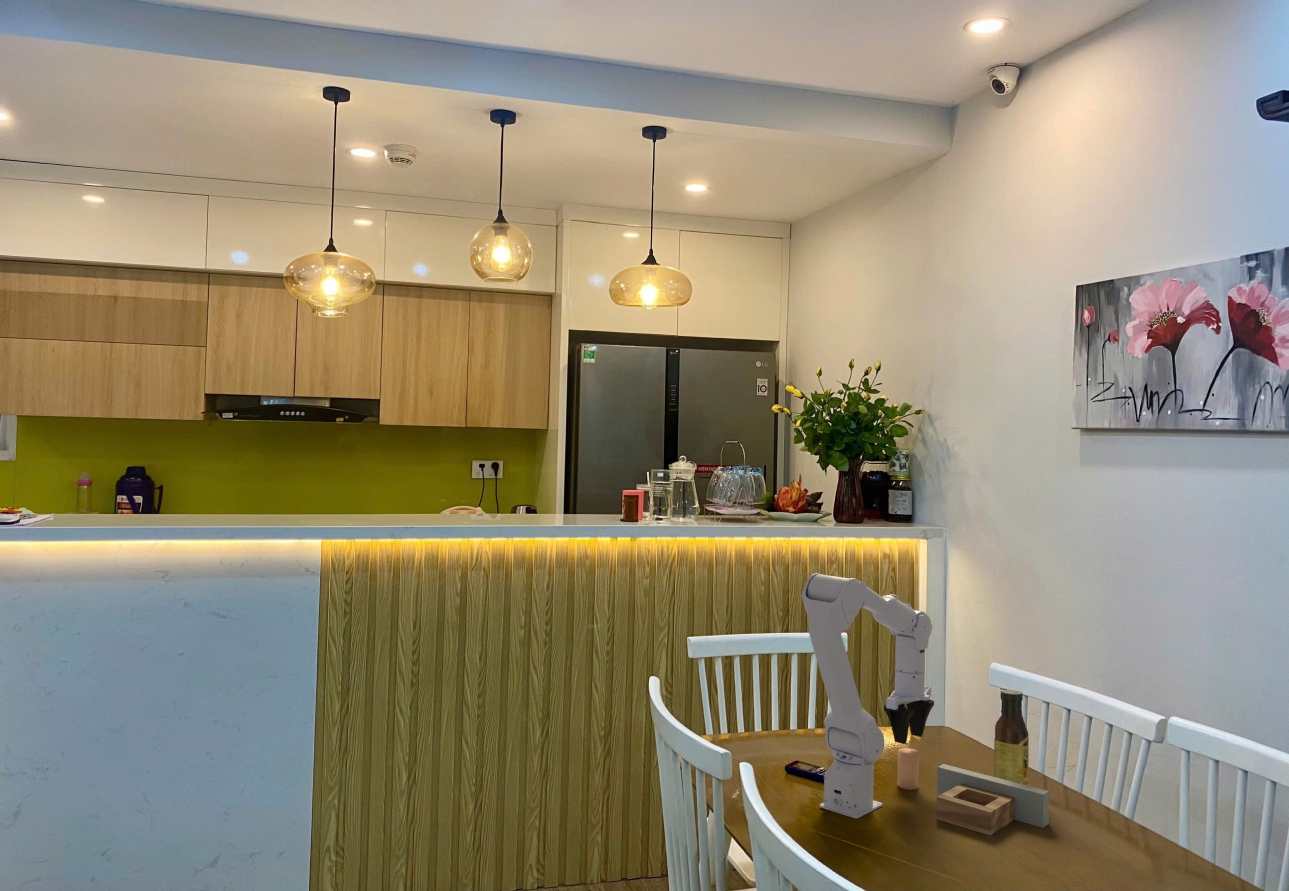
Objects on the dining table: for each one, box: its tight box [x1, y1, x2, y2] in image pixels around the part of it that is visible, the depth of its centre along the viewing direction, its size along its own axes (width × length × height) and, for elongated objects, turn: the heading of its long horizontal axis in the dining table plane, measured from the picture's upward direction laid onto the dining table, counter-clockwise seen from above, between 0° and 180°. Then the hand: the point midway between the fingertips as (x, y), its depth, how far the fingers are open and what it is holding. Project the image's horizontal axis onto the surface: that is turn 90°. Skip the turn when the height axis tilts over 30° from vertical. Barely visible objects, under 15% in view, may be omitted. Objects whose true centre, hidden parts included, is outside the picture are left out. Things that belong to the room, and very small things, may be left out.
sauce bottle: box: [993, 689, 1030, 786], centre depth 184 cm, size 7×6×20 cm
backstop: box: [936, 763, 1050, 829], centre depth 175 cm, size 2×20×6 cm, turn 46°
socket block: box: [935, 784, 1015, 836], centre depth 171 cm, size 10×10×4 cm
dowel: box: [896, 747, 920, 791], centre depth 187 cm, size 4×4×7 cm
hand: (908, 739), depth 187 cm, fingers open, 6 cm apart
